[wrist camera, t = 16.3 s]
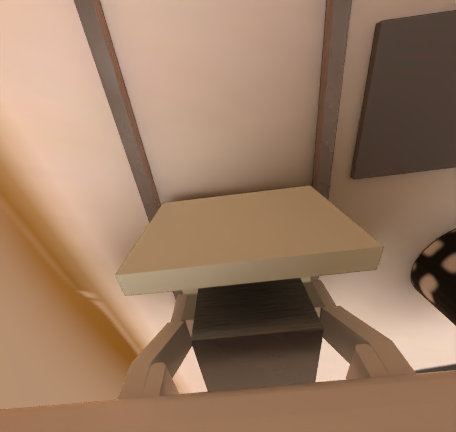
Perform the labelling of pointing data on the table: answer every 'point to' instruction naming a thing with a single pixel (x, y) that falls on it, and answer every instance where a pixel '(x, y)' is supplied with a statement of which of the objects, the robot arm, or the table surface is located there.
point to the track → (125, 120)
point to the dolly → (246, 242)
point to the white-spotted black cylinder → (438, 275)
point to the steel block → (256, 335)
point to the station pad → (409, 98)
